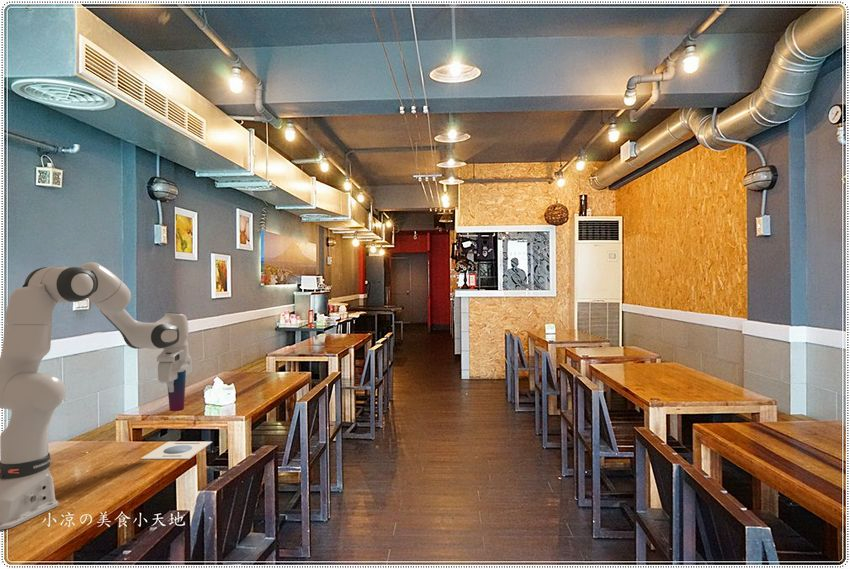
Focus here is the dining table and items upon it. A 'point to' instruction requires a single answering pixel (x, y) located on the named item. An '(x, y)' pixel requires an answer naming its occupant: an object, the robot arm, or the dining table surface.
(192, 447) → the paper sheet
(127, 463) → the dining table surface
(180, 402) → the cup
